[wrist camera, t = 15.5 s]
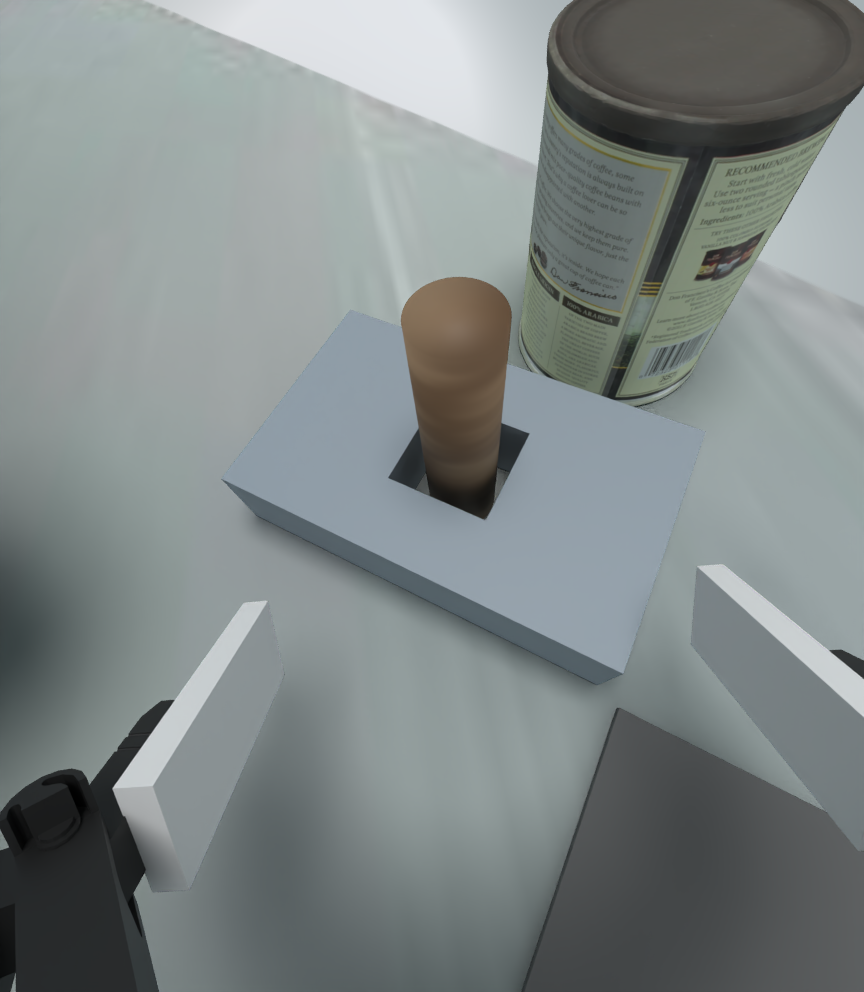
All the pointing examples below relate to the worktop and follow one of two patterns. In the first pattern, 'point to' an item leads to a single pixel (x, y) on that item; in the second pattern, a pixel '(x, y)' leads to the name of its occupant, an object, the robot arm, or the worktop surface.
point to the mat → (699, 881)
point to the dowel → (459, 385)
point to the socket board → (512, 520)
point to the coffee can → (670, 174)
